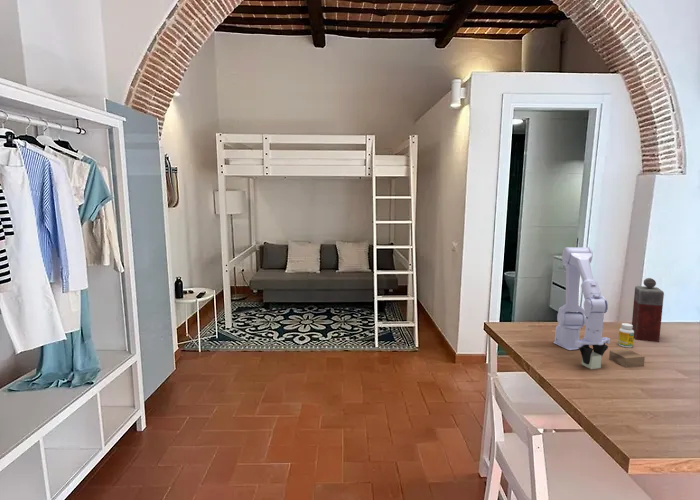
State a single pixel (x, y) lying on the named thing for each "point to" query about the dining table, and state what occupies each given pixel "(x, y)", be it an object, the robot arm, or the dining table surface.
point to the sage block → (594, 361)
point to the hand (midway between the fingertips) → (591, 362)
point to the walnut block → (626, 358)
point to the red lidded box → (647, 311)
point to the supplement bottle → (626, 335)
